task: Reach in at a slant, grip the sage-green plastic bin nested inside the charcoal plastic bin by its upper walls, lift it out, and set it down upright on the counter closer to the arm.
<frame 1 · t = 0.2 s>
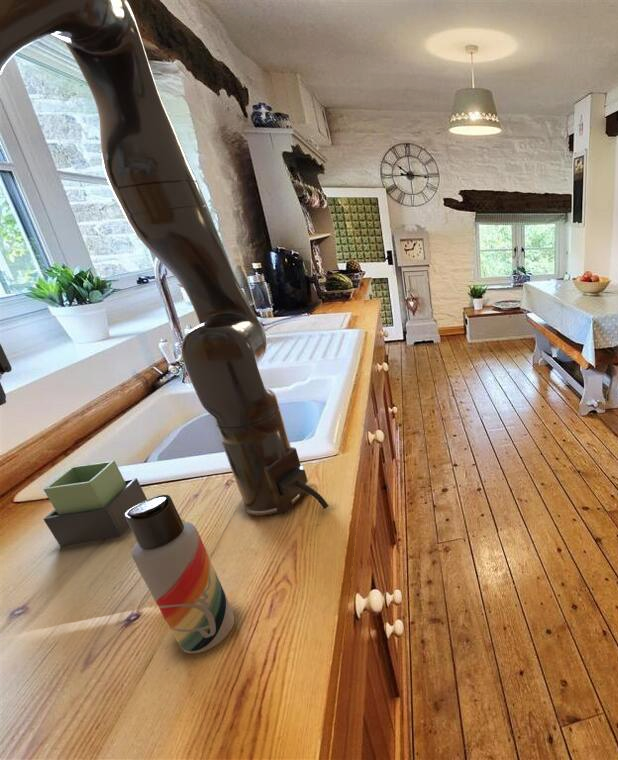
lotion bottle: (209, 633, 51), on the worktop
green bin: (107, 523, 69), resting on charcoal bin
charcoal bin: (108, 525, 69), on the worktop, touching green bin
lemon: (178, 560, 61), on the worktop
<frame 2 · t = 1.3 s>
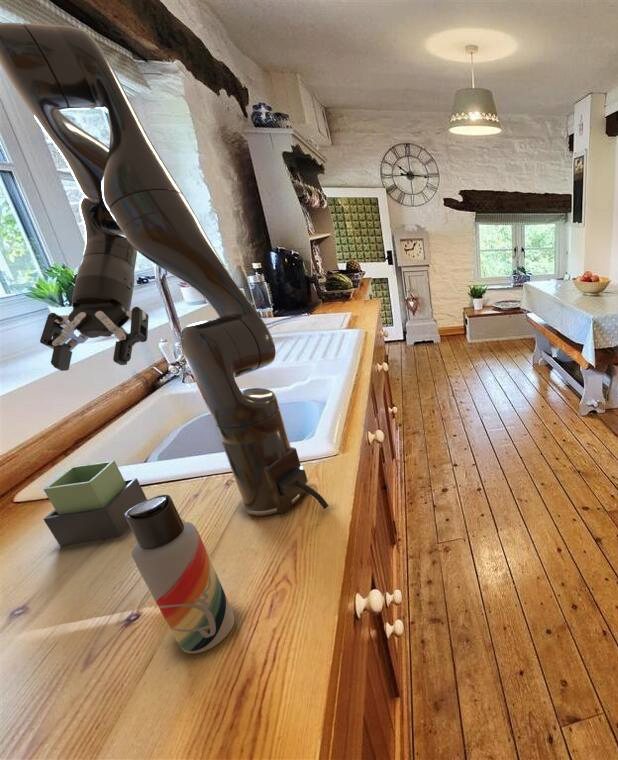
hand: (90, 366, 69), 25 cm above the worktop, tool tilted 45°, fingers open, 8 cm apart
nothing on the worktop moved.
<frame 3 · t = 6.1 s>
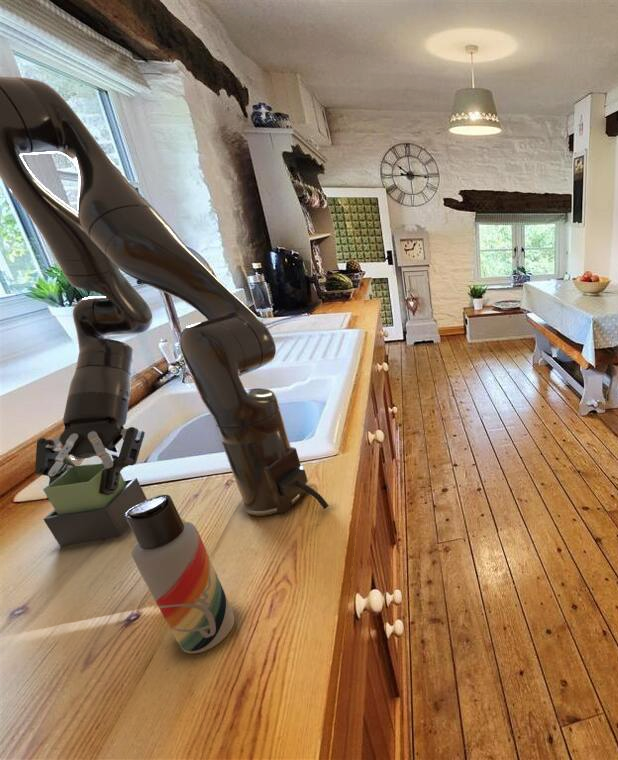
hand: (82, 497, 64), 7 cm above the worktop, tool tilted 45°, fingers closed on green bin, 6 cm apart
green bin: (107, 523, 68), point 1 cm above the worktop, touching charcoal bin, gripper
everything else where it was.
when the fingers open (7 cm above the worktop, at t = 14.0 s): green bin stays where it is, on the worktop.
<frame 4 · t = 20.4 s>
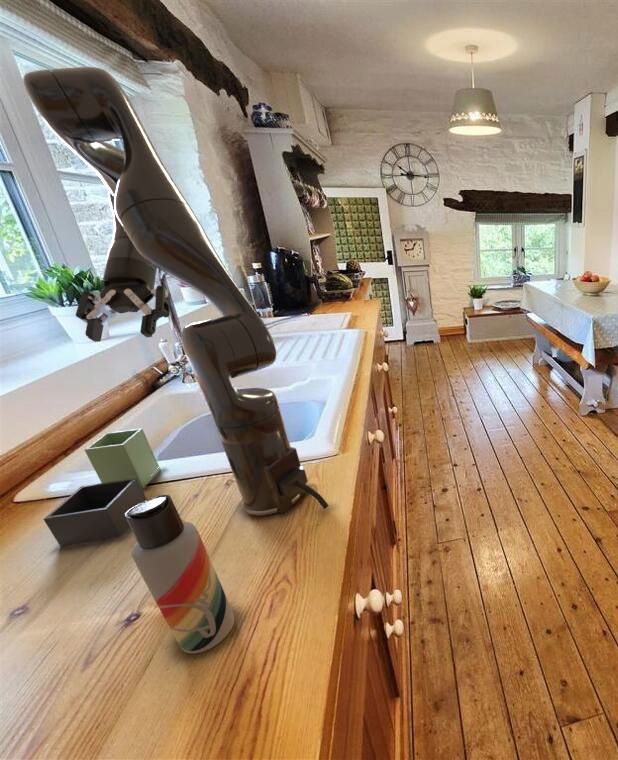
hand: (120, 337, 77), 27 cm above the worktop, tool tilted 45°, fingers open, 8 cm apart
green bin: (135, 482, 80), on the worktop
charcoal bin: (108, 525, 69), on the worktop
everything else where it was.
at the end: green bin inside the target area (0.1 cm from its centre), on the worktop; green bin tilted 0°; charcoal bin moved 0.0 cm from its start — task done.
